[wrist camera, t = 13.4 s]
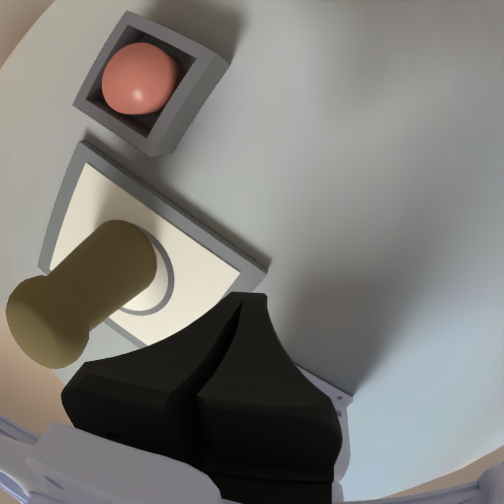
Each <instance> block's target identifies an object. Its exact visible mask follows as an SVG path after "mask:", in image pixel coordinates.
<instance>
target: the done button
mask: <svg viewBox="0 0 504 504" xmlns="http://www.w3.org/2000/svg"><path fill="white" fill-rule="evenodd" d="M182 80H183V71H182V67H181V65H180V63H179V61H178V60H177V59H176V58H175V57H174V56H173V55H171V54H169V53H167V52H165V51H163V50H161V49H159V48H157V47H155V46H153V45H151V44H148V43H134V44H130V45H128V46H125V47H124V48H122V49H120V50H119V51H118V52H117V53H116V54H115V55H114V56H113V57H112V58H111V59H110V61H109V62H108V64H107V66H106V68H105V70H104V73H103V78H102V91H103V95H104V98H105V100H106V102H107V103H108V105H109V106H110V107H111V108H112V109H114V110H115V111H117V112H120V113H123V114H143V115H151V114H157V113H159V112H162V111H163V110H164V108H165V106H166V105H167V103H168V102H169V100H170V98H171V97H172V95H173V94H174V92H175V90H176V89H177V87H178V86H179V84H180V83H181V81H182Z"/></svg>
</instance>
